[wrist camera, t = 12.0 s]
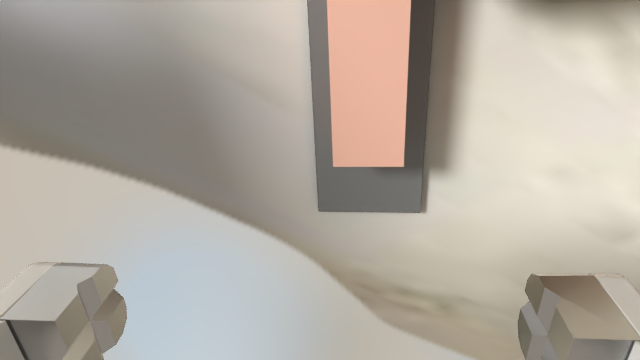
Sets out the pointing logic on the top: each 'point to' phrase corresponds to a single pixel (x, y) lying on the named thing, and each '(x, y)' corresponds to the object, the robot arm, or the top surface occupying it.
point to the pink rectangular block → (368, 81)
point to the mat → (405, 182)
